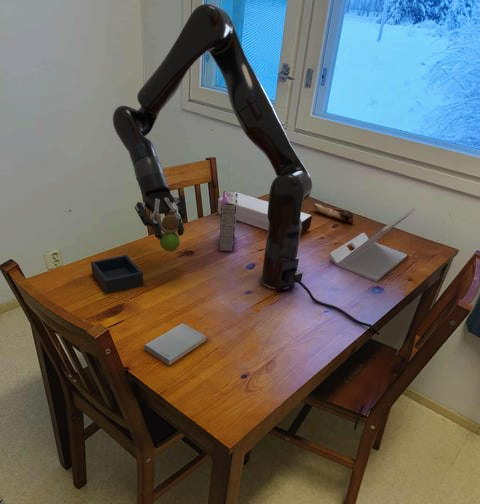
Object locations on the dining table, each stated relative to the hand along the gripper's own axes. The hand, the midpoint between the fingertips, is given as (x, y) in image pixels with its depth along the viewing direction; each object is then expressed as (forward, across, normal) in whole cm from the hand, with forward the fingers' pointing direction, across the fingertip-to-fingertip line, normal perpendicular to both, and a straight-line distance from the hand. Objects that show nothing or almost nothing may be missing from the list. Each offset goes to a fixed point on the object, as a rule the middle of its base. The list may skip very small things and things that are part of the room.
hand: (171, 236), depth 123 cm
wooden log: (-3, +82, +24) cm, 85 cm away
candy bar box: (0, +28, +21) cm, 35 cm away
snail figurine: (+2, 0, +5) cm, 5 cm away
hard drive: (+29, -12, -8) cm, 32 cm away
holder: (+5, -13, +16) cm, 21 cm away
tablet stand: (+20, +67, +1) cm, 70 cm away
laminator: (-7, +50, +28) cm, 58 cm away
